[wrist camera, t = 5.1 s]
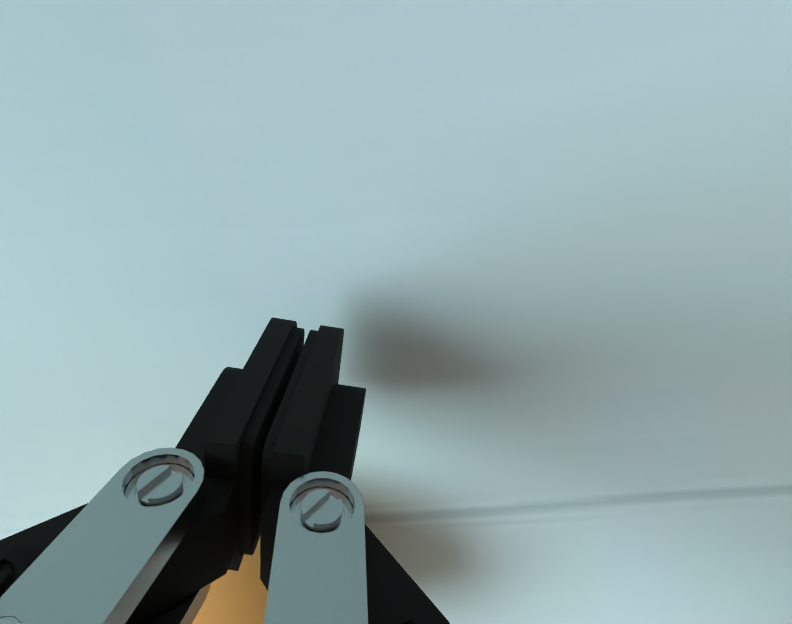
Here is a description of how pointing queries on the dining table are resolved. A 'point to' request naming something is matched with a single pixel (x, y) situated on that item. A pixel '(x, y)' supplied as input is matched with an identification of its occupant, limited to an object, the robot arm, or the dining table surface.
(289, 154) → the dining table surface
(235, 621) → the orange ball
